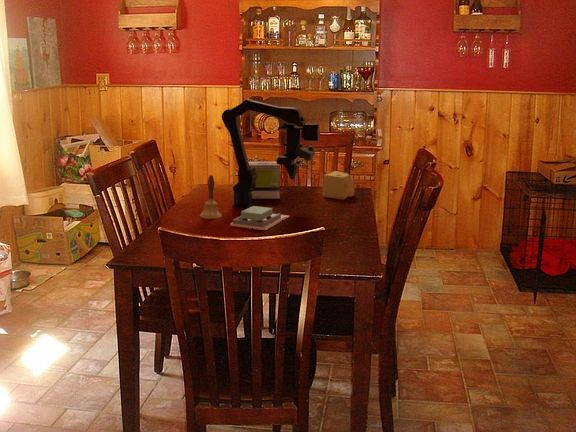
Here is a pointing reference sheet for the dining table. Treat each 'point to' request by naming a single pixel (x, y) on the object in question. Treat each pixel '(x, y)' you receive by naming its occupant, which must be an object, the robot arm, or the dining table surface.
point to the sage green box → (257, 213)
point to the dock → (259, 225)
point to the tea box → (266, 180)
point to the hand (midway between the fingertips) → (292, 179)
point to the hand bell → (210, 203)
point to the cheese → (338, 185)
